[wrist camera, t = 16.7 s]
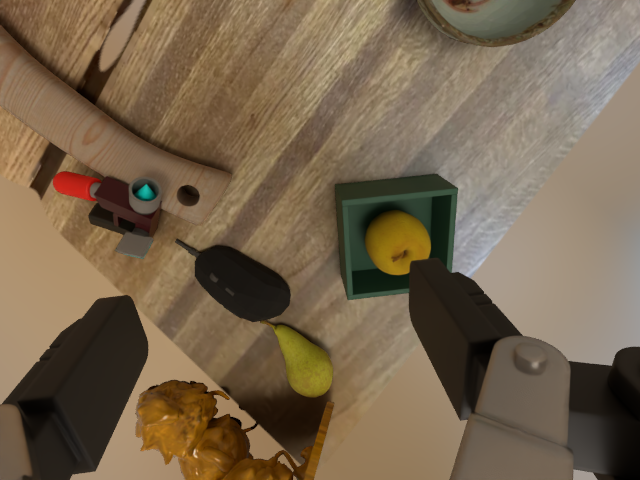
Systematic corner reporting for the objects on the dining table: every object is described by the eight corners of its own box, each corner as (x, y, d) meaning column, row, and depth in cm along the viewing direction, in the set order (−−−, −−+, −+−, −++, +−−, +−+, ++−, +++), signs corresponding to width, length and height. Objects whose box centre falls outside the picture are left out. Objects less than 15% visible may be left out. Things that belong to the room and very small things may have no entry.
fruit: (351, 379, 46) (301, 297, 45) (317, 413, 43) (263, 326, 42) (327, 373, 51) (282, 299, 50) (295, 403, 48) (246, 325, 47)
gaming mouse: (191, 218, 40) (182, 232, 37) (300, 287, 45) (302, 305, 41) (161, 260, 42) (150, 278, 38) (269, 322, 47) (268, 343, 43)
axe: (164, 269, 36) (-211, 12, 26) (174, 249, 41) (-138, 26, 30) (288, 131, 34) (-66, -217, 23) (283, 127, 39) (-12, -162, 28)
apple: (346, 228, 42) (360, 261, 34) (390, 188, 40) (413, 214, 33) (383, 263, 44) (402, 301, 37) (425, 226, 43) (454, 258, 35)
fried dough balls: (254, 692, 30) (-6, 567, 33) (287, 568, 51) (127, 500, 55) (334, 404, 37) (117, 328, 41) (334, 401, 59) (191, 352, 63)
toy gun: (173, 181, 31) (145, 230, 29) (163, 232, 41) (142, 271, 39) (49, 122, 28) (7, 171, 26) (70, 192, 38) (42, 232, 36)
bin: (334, 184, 40) (341, 200, 35) (436, 173, 41) (458, 188, 36) (340, 274, 45) (347, 300, 40) (432, 264, 45) (450, 288, 40)
